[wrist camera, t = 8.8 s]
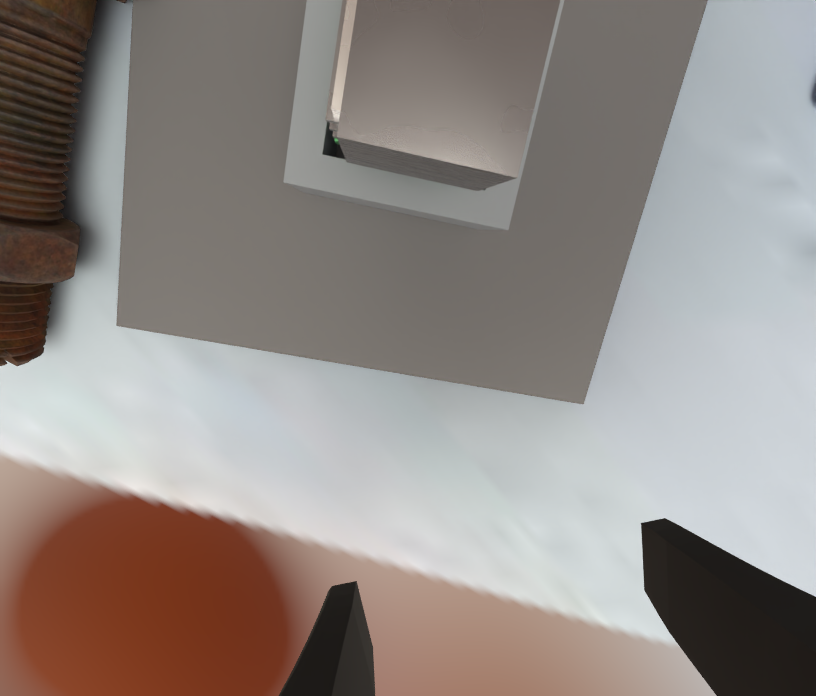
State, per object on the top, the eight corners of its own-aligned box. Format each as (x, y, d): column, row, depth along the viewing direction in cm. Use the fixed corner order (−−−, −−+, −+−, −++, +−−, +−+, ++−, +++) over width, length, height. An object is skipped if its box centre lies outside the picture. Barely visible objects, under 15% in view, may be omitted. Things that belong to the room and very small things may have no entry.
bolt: (38, 324, 21) (89, -51, 17) (109, 370, 19) (181, -36, 15) (-157, 333, 16) (-146, -203, 12) (-85, 398, 14) (-46, -207, 10)
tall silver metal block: (508, 2, 14) (672, -267, 6) (463, 206, 15) (554, 186, 8) (367, -37, 13) (361, -381, 6) (334, 178, 15) (295, 127, 7)
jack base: (728, -107, 17) (885, -254, 12) (575, 397, 22) (640, 452, 16) (161, -292, 15) (44, -579, 9) (126, 322, 19) (35, 356, 14)
